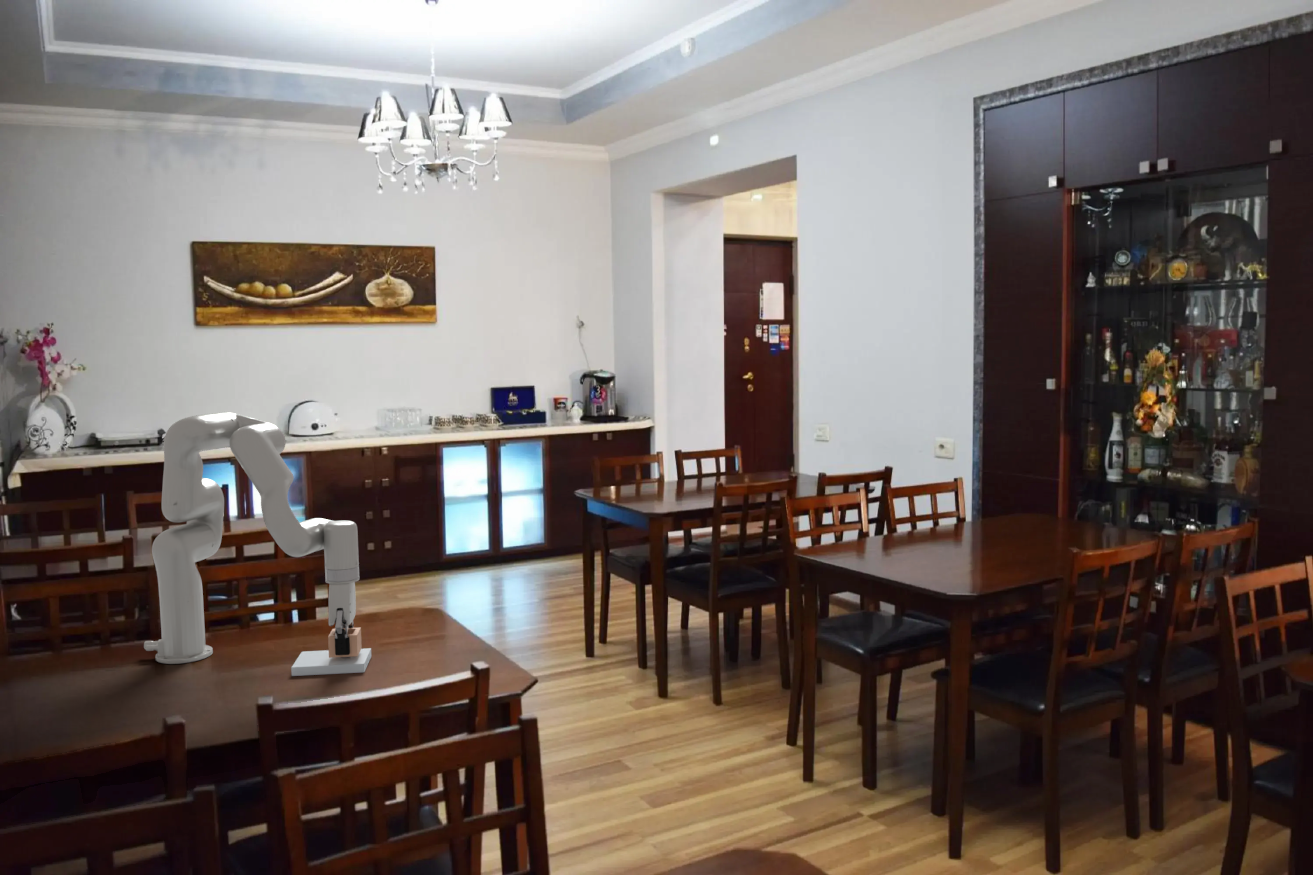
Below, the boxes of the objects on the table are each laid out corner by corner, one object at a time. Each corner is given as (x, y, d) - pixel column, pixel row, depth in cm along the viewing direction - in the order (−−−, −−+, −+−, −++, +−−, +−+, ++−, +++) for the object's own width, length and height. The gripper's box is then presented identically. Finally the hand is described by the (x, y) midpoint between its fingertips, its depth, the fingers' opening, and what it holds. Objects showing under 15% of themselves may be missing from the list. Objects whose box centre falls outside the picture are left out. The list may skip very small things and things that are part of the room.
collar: (328, 657, 238) (328, 636, 238) (333, 649, 244) (332, 628, 244) (357, 656, 239) (356, 634, 238) (361, 647, 245) (360, 627, 245)
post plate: (291, 675, 234) (290, 645, 234) (302, 659, 246) (301, 630, 246) (364, 672, 237) (363, 642, 236) (371, 656, 248) (370, 627, 248)
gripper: (332, 566, 248) (334, 640, 250) (318, 583, 231) (321, 662, 232) (364, 565, 249) (366, 638, 251) (353, 582, 232) (356, 660, 233)
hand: (345, 649), depth 242 cm, fingers closed on collar, 6 cm apart
